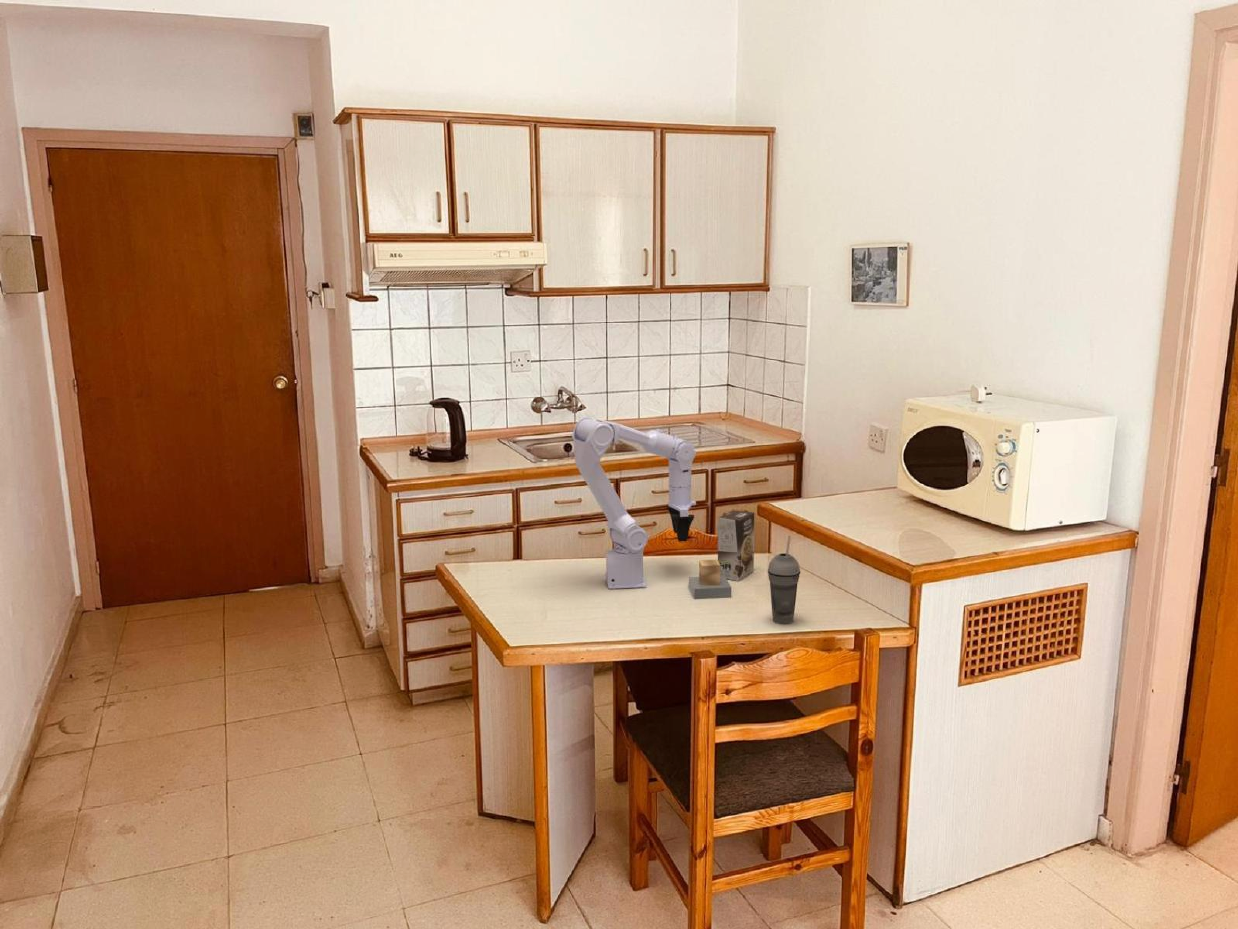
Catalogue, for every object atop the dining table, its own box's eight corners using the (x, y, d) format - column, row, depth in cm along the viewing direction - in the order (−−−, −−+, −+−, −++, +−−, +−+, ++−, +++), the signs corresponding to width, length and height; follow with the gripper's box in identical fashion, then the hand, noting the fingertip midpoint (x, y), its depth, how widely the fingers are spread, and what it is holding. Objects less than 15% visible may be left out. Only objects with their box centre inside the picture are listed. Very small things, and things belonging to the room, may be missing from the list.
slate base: (694, 599, 233) (694, 589, 233) (688, 586, 242) (688, 577, 241) (731, 597, 234) (731, 587, 233) (724, 585, 242) (724, 575, 242)
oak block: (701, 585, 235) (701, 565, 234) (699, 579, 239) (699, 560, 238) (720, 584, 235) (720, 565, 234) (717, 578, 240) (717, 559, 239)
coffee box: (739, 581, 245) (740, 520, 241) (716, 577, 248) (716, 516, 245) (754, 571, 252) (755, 511, 249) (732, 568, 256) (732, 508, 252)
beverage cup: (777, 612, 223) (778, 528, 219) (805, 619, 219) (807, 534, 215) (760, 621, 218) (761, 536, 214) (789, 629, 213) (790, 541, 209)
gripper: (700, 491, 240) (700, 544, 243) (691, 478, 254) (691, 528, 257) (672, 492, 240) (672, 545, 243) (664, 479, 254) (664, 529, 257)
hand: (680, 536), depth 250 cm, fingers open, 7 cm apart
